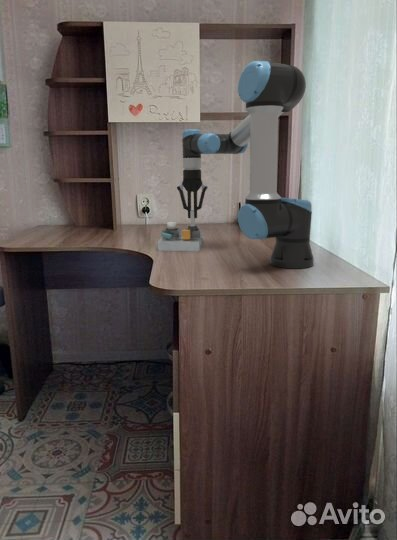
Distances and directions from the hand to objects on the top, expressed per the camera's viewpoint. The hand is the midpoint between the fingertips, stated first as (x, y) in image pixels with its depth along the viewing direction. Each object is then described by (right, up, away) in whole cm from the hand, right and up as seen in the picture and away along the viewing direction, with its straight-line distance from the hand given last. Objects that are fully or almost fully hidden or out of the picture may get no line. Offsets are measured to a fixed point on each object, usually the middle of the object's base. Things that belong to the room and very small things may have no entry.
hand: (192, 225), depth 181 cm
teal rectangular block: (-11, -5, -5) cm, 13 cm away
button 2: (0, -3, +1) cm, 3 cm away
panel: (-5, -9, -1) cm, 11 cm away
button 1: (-9, -1, +1) cm, 9 cm away
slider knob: (-2, -6, -6) cm, 9 cm away
